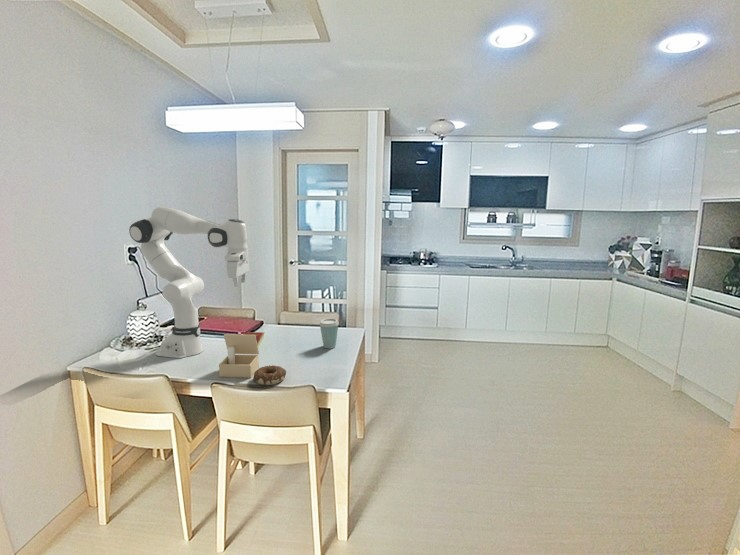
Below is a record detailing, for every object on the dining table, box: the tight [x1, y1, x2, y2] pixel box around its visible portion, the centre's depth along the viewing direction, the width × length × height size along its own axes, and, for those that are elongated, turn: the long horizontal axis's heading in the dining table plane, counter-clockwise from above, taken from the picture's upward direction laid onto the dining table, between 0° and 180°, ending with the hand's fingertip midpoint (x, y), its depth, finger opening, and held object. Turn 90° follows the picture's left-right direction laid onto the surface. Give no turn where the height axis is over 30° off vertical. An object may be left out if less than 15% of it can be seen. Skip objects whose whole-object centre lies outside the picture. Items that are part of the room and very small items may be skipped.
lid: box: [223, 333, 260, 355], centre depth 181 cm, size 14×12×1 cm
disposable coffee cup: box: [319, 317, 340, 349], centre depth 214 cm, size 11×11×15 cm
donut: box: [252, 364, 287, 386], centre depth 172 cm, size 14×14×5 cm
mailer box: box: [218, 346, 260, 379], centre depth 179 cm, size 14×12×11 cm
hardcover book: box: [242, 331, 265, 349], centre depth 216 cm, size 12×21×4 cm, turn 5°
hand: (240, 284), depth 182 cm, fingers open, 8 cm apart
